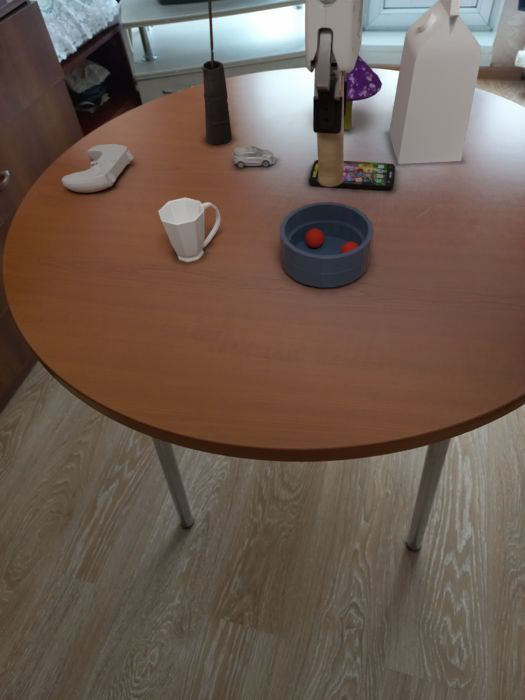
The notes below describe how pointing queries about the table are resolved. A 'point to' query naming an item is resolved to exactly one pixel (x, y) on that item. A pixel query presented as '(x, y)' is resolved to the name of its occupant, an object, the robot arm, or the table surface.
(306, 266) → the bowl
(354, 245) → the ball
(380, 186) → the smartphone
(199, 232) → the cup
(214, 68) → the butter churn
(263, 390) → the table surface
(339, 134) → the stick
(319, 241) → the ball
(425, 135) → the milk
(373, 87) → the decorative mushroom
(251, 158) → the toy car
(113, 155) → the game controller
